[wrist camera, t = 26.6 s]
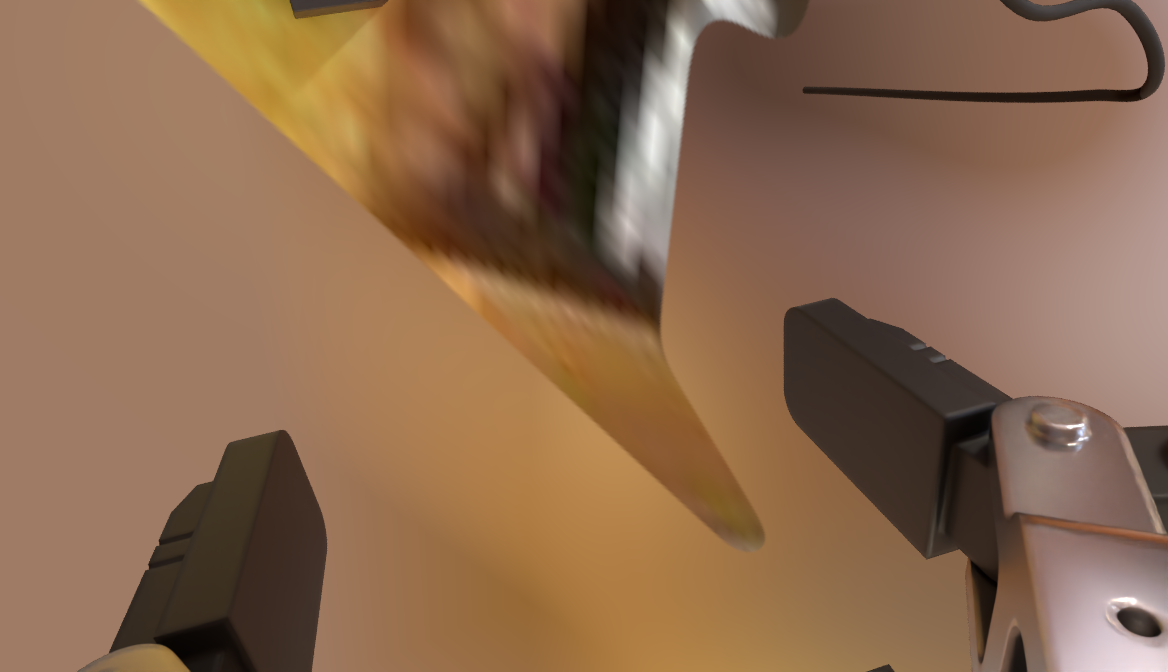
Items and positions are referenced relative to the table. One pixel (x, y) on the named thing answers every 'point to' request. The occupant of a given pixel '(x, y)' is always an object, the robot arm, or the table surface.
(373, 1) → the dark piece
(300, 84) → the table surface
